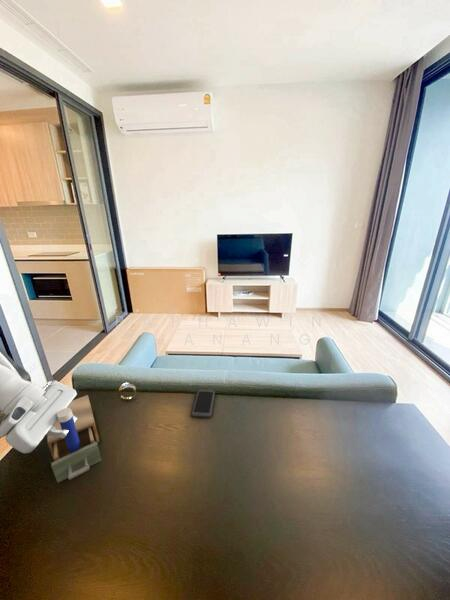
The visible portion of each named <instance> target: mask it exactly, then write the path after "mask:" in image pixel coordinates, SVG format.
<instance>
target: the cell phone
mask: <svg viewBox="0 0 450 600" xmlns="http://www.w3.org/2000/svg"><path fill="white" fill-rule="evenodd" d="M215 394H216V391H215V390H213V389H198V390H197V392H196V396H195V400H194V403H193V407H192V409H191V417H194V418H210V417H211V416H212V412H213V406H214V400H215Z"/></svg>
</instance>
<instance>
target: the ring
mask: <svg viewBox="0 0 450 600" xmlns="http://www.w3.org/2000/svg"><path fill="white" fill-rule="evenodd" d="M126 389H131V390H133V392H134V393H133V395H131V396H128V397H124V396H123V395H122V394H121V392H122V391H124V390H126ZM136 395H137V387H136V386H135V385H134V384H132V383H130V382H124V383H123V384H121V385H120V386H119V388H118V390H117V397H118V398H119V399H120V400H123V401H131V400H133V399H134V398H135V397H136Z"/></svg>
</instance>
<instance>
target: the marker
mask: <svg viewBox="0 0 450 600" xmlns="http://www.w3.org/2000/svg"><path fill="white" fill-rule="evenodd" d="M57 417H58V421H59V422H60V425H61V428H62V429H63V428H65V429H66V430H68V431H69V432H68V434H67V435H66V436H65V437H64V438H65V441H66V444H67V447H68V451H69V452H70V453H73V452H75V451H77V450H79V448H80V447H81V444H80V441H79V438H78V434H77V431H76V427H75V424H74V420H73V417H72V412H71V409H70V408H64V409H62V410H60V411H59V412H58V413H57Z"/></svg>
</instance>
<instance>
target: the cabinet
mask: <svg viewBox="0 0 450 600" xmlns="http://www.w3.org/2000/svg"><path fill="white" fill-rule="evenodd" d="M68 408H70V409H71V411H72V413H73V415H74V416H75V417H77V418H78V419H77V420H76V422H75V423H74V424H75V427H76V431H77V432H79V431H81V430H83V429H86V428H88V427H90V426H91V428H92V432H93V436H94V441H95V442H97V444H99V443H100V438H99V433H98V430H97V425H96V421H95V417H94V412H93V409H92V405H91V402H90V398H89V394H86V395H84V396H81V397H78V398H76V399H75V398H74V399H73V400H72V402H71V403H70V404H69V405H68ZM53 426H54V427H56V429H55V430H62V428H61V425H60V422H59V421H58V420H57V421H56V422H55V423H54V425H53ZM46 437H47V438H46V439H47V446H48V448H49V452H50V454H51V457H52V459H53V462H54V461H55V459H54V442H56V441H58V440H61V439H63V438H61V437H59V436H48V435H46Z"/></svg>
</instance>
